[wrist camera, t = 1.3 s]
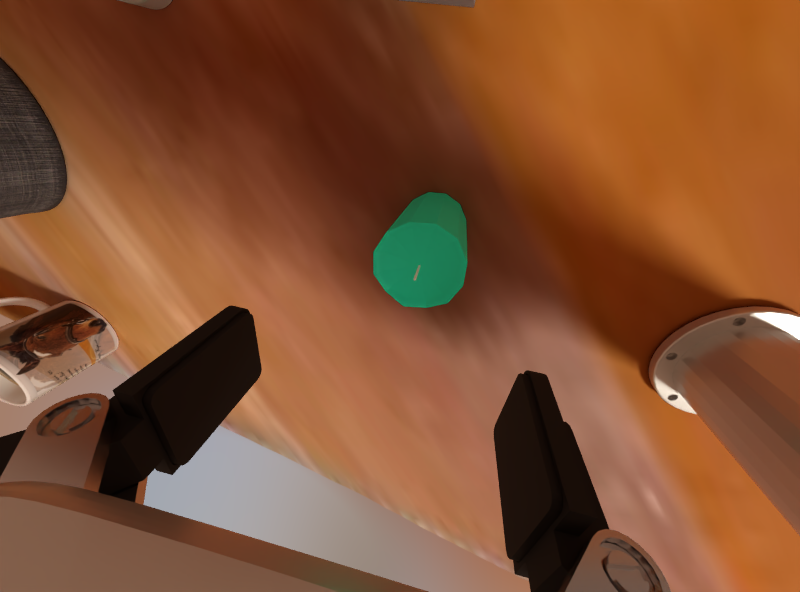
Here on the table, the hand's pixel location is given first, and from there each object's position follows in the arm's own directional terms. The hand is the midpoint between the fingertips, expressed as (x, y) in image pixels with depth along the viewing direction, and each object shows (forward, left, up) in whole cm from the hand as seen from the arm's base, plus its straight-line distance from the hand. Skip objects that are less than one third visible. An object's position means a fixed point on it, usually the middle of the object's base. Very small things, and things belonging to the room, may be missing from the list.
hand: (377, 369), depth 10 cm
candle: (0, 0, -20) cm, 20 cm away
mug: (+50, +24, -20) cm, 59 cm away
